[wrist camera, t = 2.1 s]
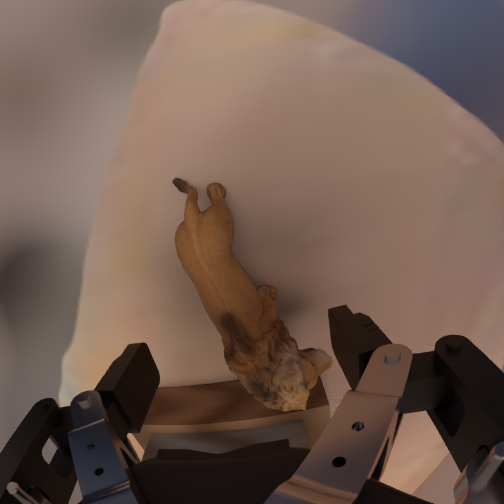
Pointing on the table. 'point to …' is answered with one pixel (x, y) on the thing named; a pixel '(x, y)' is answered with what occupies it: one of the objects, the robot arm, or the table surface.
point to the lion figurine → (243, 309)
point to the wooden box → (227, 419)
